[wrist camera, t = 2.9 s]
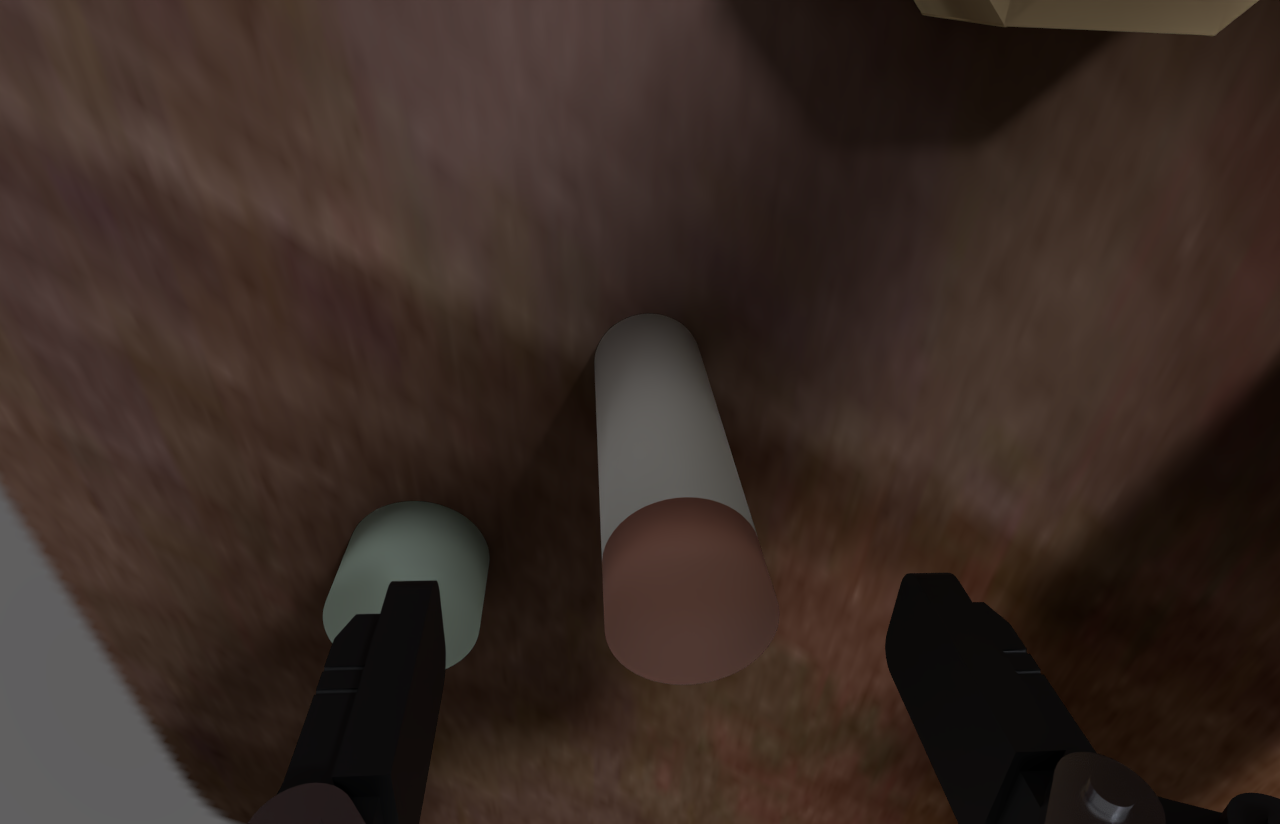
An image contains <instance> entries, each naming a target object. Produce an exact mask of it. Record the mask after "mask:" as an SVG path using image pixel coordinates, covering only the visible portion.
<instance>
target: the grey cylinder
mask: <svg viewBox="0 0 1280 824" xmlns="http://www.w3.org/2000/svg"><path fill="white" fill-rule="evenodd" d="M594 367H595V393H596V420H597V446H598V472H599V498H600V524H601V550H602V576H603V603H604V628H605V637H606V641H607V644H608V646H609V648H610V650H611V652H612V653H613V655H614V656H615V658H616V659H617V660H618V661H619V662H620V663H621V664H622V665H624V666H625V667H626V668H627V669H629V670H630V671H632V672H634V673H635V674H637V675H639V676H641V677H644V678H646V679H649V680H652V681H656V682H660V683H666V684H674V685H690V684H700V683H706V682H711V681H715V680H718V679H721V678H724V677H727V676H729V675H731V674H734V673H736V672H738V671H740V670H741V669H743V668H745V667H746V666H748V665H749V664H751V663H752V662H753V661H755V660H756V659H757V658H758V657H759V656H760V655H761V654H762V653H763V652H764V651H765V649H766V648H767V647H768V646H769V644H770V643H771V641H772V639H773V637H774V635H775V633H776V631H777V627H778V623H779V605H778V601H777V598H776V595H775V591H774V588H773V585H772V582H771V579H770V575H769V572H768V569H767V566H766V563H765V559H764V556H763V553H762V550H761V546H760V543H759V540H758V537H757V534H756V530H755V527H754V524H753V521H752V518H751V514H750V511H749V508H748V505H747V502H746V498H745V495H744V492H743V489H742V485H741V482H740V479H739V476H738V473H737V469H736V466H735V463H734V460H733V457H732V453H731V450H730V447H729V444H728V441H727V437H726V434H725V431H724V428H723V425H722V421H721V418H720V415H719V412H718V408H717V405H716V402H715V399H714V396H713V392H712V389H711V386H710V383H709V380H708V376H707V373H706V370H705V367H704V364H703V360H702V357H701V354H700V351H699V347H698V344H697V342H696V340H695V338H694V337H693V335H692V333H691V332H690V331H689V330H688V329H687V328H686V327H685V326H684V325H683V324H681V323H680V322H678V321H677V320H675V319H672V318H670V317H667V316H664V315H660V314H639V315H634V316H631V317H628V318H626V319H623V320H622V321H620V322H618V323H616V324H615V325H614V326H613V327H611V328H610V329H609V330H608V331H607V332H606V333H605V335H604V336H603V337H602V339H601V341H600V342H599V344H598V347H597V349H596V353H595V360H594Z"/></svg>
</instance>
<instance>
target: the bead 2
mask: <svg viewBox="0 0 1280 824" xmlns="http://www.w3.org/2000/svg"><path fill="white" fill-rule="evenodd" d="M1258 1H1259V0H914V2H915V4H916V5H917V7H918V8H919V10H920V11H921V14H922V15H925V16H931V17H938V18H945V19H951V20H958V21H965V22H972V23H978V24H985V25H992V26H998V27H1005V28H1006V27H1007V26H1009V27H1032V28H1055V29H1078V30H1101V31H1124V32H1147V33H1170V34H1193V35H1203V36H1212V37H1213V36H1214V35H1216V34H1217V33H1218V32H1220V31H1221V30H1222V29H1223V28H1225V27H1226V26H1227V25H1228V24H1230V23H1231V22H1232V21H1233V20H1235V19H1236V18H1237V17H1239V16H1240V15H1241V14H1242V13H1244V12H1245V11H1246V10H1247V9H1249V8H1250V7H1251V6H1252V5H1254V4H1255V3H1256V2H1258Z"/></svg>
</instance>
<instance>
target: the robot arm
mask: <svg viewBox="0 0 1280 824" xmlns="http://www.w3.org/2000/svg"><path fill="white" fill-rule="evenodd" d="M885 650H886V659H887V664H888V668H889V671H890V673H891V676H892V678H893V680H894V682H895V685H896V687H897V689H898V691H899V693H900V696H901V698H902V700H903V702H904V704H905V707H906V709H907V711H908V713H909V715H910V718H911V720H912V722H913V724H914V726H915V729H916V731H917V733H918V735H919V737H920V740H921V742H922V744H923V746H924V748H925V751H926V753H927V755H928V757H929V759H930V762H931V764H932V766H933V768H934V771H935V773H936V775H937V777H938V779H939V782H940V784H941V786H942V788H943V790H944V793H945V795H946V797H947V799H948V801H949V804H950V806H951V808H952V810H953V812H954V815H955V817H956V819H957V821H958V823H959V824H1280V799H1278V798H1275V797H1272V796H1269V795H1264V794H1259V793H1243V794H1240V795H1237V796H1236V797H1234V798H1232V800H1231V801H1230V802H1229V804H1228V805H1227V807H1226V808H1225V809H1224V811H1223V812H1222V813H1220V812H1216V811H1212V810H1208V809H1204V808H1200V807H1196V806H1192V805H1188V804H1184V803H1180V802H1176V801H1172V800H1168V799H1165V798H1162V797H1158V796H1157V795H1156V794H1155V792H1154V791H1153V790H1152V789H1151V787H1150V786H1149V785H1148V784H1147V783H1146V782H1145V781H1144V780H1143V779H1142V778H1141V777H1140V776H1139V775H1137V774H1136V773H1135V772H1134V771H1132V770H1131V769H1129V768H1128V767H1126V766H1125V765H1123V764H1121V763H1120V762H1118V761H1116V760H1114V759H1111V758H1109V757H1106V756H1104V755H1100V754H1097V753H1096V751H1095V750H1094V749H1093V747H1092V746H1091V744H1090V743H1089V741H1088V740H1087V738H1086V737H1085V735H1084V734H1083V732H1082V731H1081V729H1080V728H1079V726H1078V725H1077V723H1076V722H1075V720H1074V719H1073V717H1072V716H1071V714H1070V713H1069V711H1068V710H1067V708H1066V707H1065V705H1064V704H1063V702H1062V701H1061V699H1060V698H1059V696H1058V695H1057V694H1056V692H1055V691H1054V689H1053V688H1052V686H1051V685H1050V683H1049V682H1048V680H1047V679H1046V677H1045V676H1044V675H1041V673H1040V668H1039V667H1038V665H1037V664H1036V662H1035V661H1034V659H1033V658H1032V656H1031V655H1030V654H1027V652H1026V647H1025V646H1024V644H1023V643H1022V641H1021V640H1020V638H1019V637H1018V635H1017V634H1016V632H1015V631H1014V629H1013V628H1012V626H1011V625H1010V624H1009V623H1008V622H1007V621H1006V620H1005V619H1003V618H1002V617H1001V616H1000V615H999V614H997V613H996V612H995V611H994V610H993V609H991V608H990V607H989V606H988V605H986V604H985V603H984V602H972V601H971V599H970V598H969V596H968V595H967V593H966V592H965V590H964V588H963V587H962V585H961V584H960V582H959V581H958V579H957V578H956V577H955V576H954V575H953V574H951V573H909V574H906V575H905V576H904V578H903V579H902V582H901V585H900V589H899V592H898V596H897V599H896V603H895V607H894V610H893V614H892V617H891V621H890V624H889V628H888V631H887V635H886V643H885ZM324 667H325V669H324V672H322V675H321V677H320V680H319V683H318V686H317V689H316V695H314V697H313V700H312V703H311V706H310V709H309V711H308V714H307V717H306V720H305V723H304V726H303V728H302V731H301V734H300V737H299V740H298V742H297V745H296V748H295V751H294V754H293V757H292V759H291V762H290V765H289V768H288V771H287V774H286V776H285V779H284V782H283V784H282V786H281V788H280V790H279V792H278V793H277V795H276V796H274V797H273V798H271V799H270V800H269V801H267V802H266V803H265V804H264V805H263V806H261V807H260V809H259V810H258V811H257V812H256V813H255V814H254V815H253V816H252V818H251V819H250V821H249V822H248V823H247V824H419V821H420V816H421V810H422V804H423V799H424V793H425V787H426V782H427V776H428V771H429V765H430V759H431V754H432V748H433V742H434V737H435V731H436V726H437V720H438V714H439V709H440V703H441V698H442V692H443V686H444V679H445V668H446V646H445V636H444V627H443V618H442V609H441V600H440V591H439V585H438V582H437V581H436V580H432V581H392V582H391V583H390V584H389V586H388V589H387V592H386V596H385V599H384V603H383V606H382V609H381V613H380V614H356V615H355V616H354V617H353V618H352V619H351V620H350V622H349V623H348V624H347V625H346V626H345V627H344V628H343V629H342V630H341V632H340V633H339V634H338V635H337V636H336V637H335V638H334V641H333V644H332V646H331V649H330V652H329V655H328V658H327V661H326V663H325V666H324Z"/></svg>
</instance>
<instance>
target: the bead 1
mask: <svg viewBox="0 0 1280 824" xmlns="http://www.w3.org/2000/svg"><path fill="white" fill-rule="evenodd" d="M489 559H490V555H489V549H488V546H487V543H486V540H485V538H484V537H483V535H482V533H481V532H480V531H479V529H478V528H477V527H476V526H475V525H474V524H473V523H472V522H471V521H470V520H469V519H467V518H466V517H465V516H463V515H462V514H460V513H458V512H456V511H454V510H452V509H450V508H448V507H445V506H442V505H439V504H435V503H430V502H423V501H404V502H398V503H393V504H389V505H386V506H383V507H381V508H379V509H377V510H375V511H373V512H371V513H370V514H369V515H367V516H366V517H365V518H364V519H363V520H362V521H361V522H360V523H359V524H358V525H357V527H356V528H355V530H354V532H353V534H352V536H351V539H350V541H349V544H348V546H347V549H346V551H345V554H344V556H343V559H342V562H341V564H340V567H339V569H338V572H337V574H336V577H335V579H334V582H333V584H332V587H331V589H330V592H329V594H328V597H327V599H326V602H325V605H324V609H323V623H324V628H325V631H326V633H327V635H328V637H329V639H330V641H331V642H332V643H333V641H334V638H335V637H336V636H337V635H338V634H339V633H340V632H341V630H342V629H343V628H344V627H345V626H346V625H347V624H348V623H349V622H350V620H351V619H352V618H353V617H354V616H355V615H356V614H380V613H381V609H382V606H383V603H384V599H385V596H386V592H387V589H388V586H389V584H390V583H391V582H392V581H432V580H436V581H437V582H438V585H439V591H440V600H441V609H442V618H443V627H444V636H445V646H446V668H445V669H447V668H449V667H451V666H453V665H455V664H456V663H458V662H459V661H461V660H462V659H463V658H464V657H465V656H466V655H467V654H468V653H469V652H470V651H471V650H472V648H473V646H474V645H475V643H476V641H477V638H478V635H479V630H480V623H481V616H482V609H483V603H484V596H485V589H486V582H487V576H488V569H489Z"/></svg>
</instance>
